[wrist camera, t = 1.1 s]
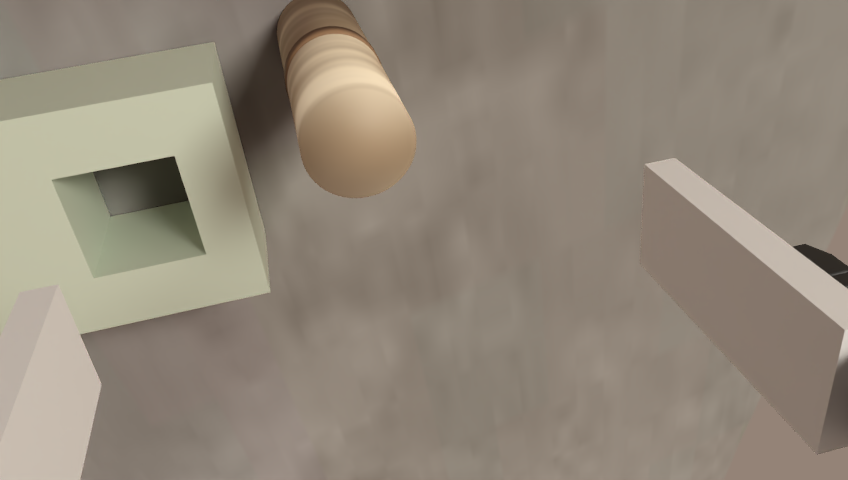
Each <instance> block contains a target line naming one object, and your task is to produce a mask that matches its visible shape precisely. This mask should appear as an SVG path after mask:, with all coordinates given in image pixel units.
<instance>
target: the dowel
mask: <svg viewBox="0 0 848 480" xmlns="http://www.w3.org/2000/svg"><path fill="white" fill-rule="evenodd" d="M277 39H278V45H279V49H280V54H281V59H282V64H283V69H284V79H285V85H286V90H287V94H288V97H289V99H290V104H291V109H292V114H293V119H294V124H295V129H296V134H297V138H298V143H299V148H300V153H301V158H302V161H303V165H304V167H305V169H306V171H307V172H308V174H309V176H310V177H311V178H312V179H313V180H314V182H315V183H317V184H318V185H319V186H320V187H322V188H323V189H325V190H326V191H328V192H330V193H332V194H335V195H338V196H342V197H347V198H363V197H369V196H373V195H376V194H379V193H381V192H383V191H385V190H387V189H389V188H390V187H392V186H393V185H394V184H396V183H397V182H398V181H399V180H400V179H401V178H402V177H403V176H404V174H405V173H406V172H407V170H408V169H409V167H410V165H411V163H412V161H413V158H414V155H415V150H416V132H415V128H414V125H413V122H412V120H411V118H410V116H409V114H408V112H407V111H406V109H405V107H404V105H403V103H402V102H401V100H400V98H399V96H398V94H397V93H396V91H395V89H394V87H393V85H392V84H391V82H390V80H389V78H388V77H387V75H386V73H385V71H384V69H383V68H382V65H381V62H380V60H379V58H378V56H377V54H376V53H375V51H374V49H373V47H372V46H371V45H370V43H369V42H368V41H367V39H366V37H365V35H364V34H363V32H362V30H361V28H360V26H359V25H358V23H357V21H356V19H355V17H354V16H353V14H352V12H351V11H350V9H349V8H348V7H347V6H346V5H345V4H344V3H343V2H342V1H341V0H293V1H291V2H290V3H289V4H288V5H287V6H286V8H285V9H284V10H283V12H282V14H281V16H280V18H279V21H278V25H277Z"/></svg>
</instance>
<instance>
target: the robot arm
mask: <svg viewBox="0 0 848 480" xmlns="http://www.w3.org/2000/svg"><path fill="white" fill-rule="evenodd" d="M640 265H641V266H642V267H643V268H644V269H645V270H646V271H647V272H648V273H649V274H650V275H651V276H652V277H653V279H654V280H655V281H656V282H657V283H658V284H659V285H660V286H661V287H662V288H663V289H664V290H665V291H666V293H667V294H668V295H669V296H670V297H671V298H672V299H673V300H674V301H675V302H676V303H677V304H678V306H679V307H680V308H681V309H682V310H683V311H684V312H685V313H686V314H687V315H688V316H689V317H690V318H691V320H692V321H693V322H694V323H695V324H696V325H697V326H698V327H699V328H700V329H701V330H702V331H703V333H704V334H705V335H706V336H707V337H708V338H709V339H710V340H711V341H712V342H713V343H714V344H715V345H716V347H717V348H718V349H719V350H720V351H721V352H722V353H723V354H724V355H725V356H726V357H727V358H728V359H729V361H730V362H731V363H732V364H733V365H734V366H735V367H736V368H737V369H738V370H739V371H740V372H741V374H742V375H743V376H744V377H745V378H746V379H747V380H748V381H749V382H750V383H751V384H752V385H753V386H754V388H755V389H756V390H757V391H758V392H759V393H760V394H761V395H762V396H763V397H764V398H765V399H766V400H767V402H768V403H769V404H770V405H771V406H772V407H773V408H774V409H775V410H776V411H777V412H778V413H779V415H780V416H781V417H782V418H783V419H784V420H785V421H786V422H787V423H788V424H789V425H790V426H791V427H792V428H793V430H794V431H795V432H796V433H797V434H798V435H799V436H800V437H801V438H802V439H803V440H804V441H805V443H806V444H807V445H808V446H809V447H810V448H811V449H812V450H813V451H814V452H815V453H816V454H817V455H818V454H821V453H825V452H829V451H832V450H836V449H839V448H843V447H847V446H848V266H847V265H845V264H844V263H843V262H841V261H840V260H838V259H837V258H836V257H834V256H833V255H832V254H829V253H827V252H824V251H822V250H819V249H816V248H814V247H811V246H809V245H806V244H803V245H798V246H794V247H792V246H791V245H789V244H788V243H787V242H785V241H784V240H783V239H781V238H780V237H779V236H777V235H776V234H775V233H773V232H772V231H771V230H769V229H768V228H767V227H765V226H764V225H763V224H761V223H760V222H759V221H758V220H756V219H755V218H754V217H752V216H751V215H750V214H748V213H747V212H746V211H744V210H743V209H742V208H740V207H739V206H738V205H736V204H735V203H734V202H732V201H731V200H730V199H728V198H727V197H726V196H724V195H723V194H722V193H721V192H719V191H718V190H717V189H715V188H714V187H713V186H711V185H710V184H709V183H707V182H706V181H705V180H703V179H702V178H701V177H699V176H698V175H697V174H695V173H694V172H693V171H691V170H690V169H689V168H688V167H686V166H685V165H684V164H682V163H681V162H680V161H678V160H677V159H676V158H672V159H667V160H662V161H658V162H653V163H648V164H644V185H643V206H642V227H641V248H640ZM101 385H102V384H101V382H100V380H99V377H98V375H97V373H96V370H95V368H94V366H93V363H92V361H91V359H90V357H89V354H88V352H87V350H86V347H85V345H84V343H83V340H82V338H81V336H80V333H79V331H78V329H77V326H76V324H75V322H74V319H73V317H72V315H71V313H70V310H69V308H68V306H67V303H66V301H65V299H64V296H63V294H62V292H61V289H60V287H59V285H58V284H57V285H52V286H47V287H42V288H37V289H32V290H28V291H23V292H20V293H19V295H18V297H17V299H16V302H15V304H14V306H13V309H12V311H11V313H10V315H9V318H8V320H7V322H6V324H5V327H4V329H3V331H2V333H1V336H0V480H80V478H81V474H82V469H83V465H84V460H85V456H86V452H87V447H88V443H89V438H90V434H91V429H92V425H93V420H94V416H95V412H96V407H97V403H98V398H99V394H100V389H101Z"/></svg>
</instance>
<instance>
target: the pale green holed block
mask: <svg viewBox="0 0 848 480" xmlns="http://www.w3.org/2000/svg"><path fill="white" fill-rule="evenodd" d="M171 156H175V159H176V162H177V165H178V168H179V172H180V175H181V178H182V181H183V184H184V187H185V190H186V193H187V196H188V199H189V201H185V202H180V203H175V204H170V205H165V206H160V207H155V208H150V209H145V210H140V211H135V212H130V213H125V214H120V215H116V216H111V217H110V214H109V212H108V209H107V207H106V204H105V201H104V199H103V196H102V194H101V191H100V189H99V186H98V184H97V181H96V179H95V176H94V174H93V172H94V171H99V170H104V169H109V168H115V167H120V166H125V165H130V164H135V163H140V162H145V161H151V160H156V159H161V158H166V157H171ZM57 284H58V285H59V287H60V289H61V292H62V294H63V296H64V299H65V301H66V303H67V306H68V308H69V310H70V313H71V315H72V317H73V319H74V322H75V324H76V326H77V329H78V331H79V333H80V334H84V333H89V332H93V331H98V330H102V329H107V328H111V327H116V326H120V325H125V324H129V323H134V322H138V321H143V320H148V319H152V318H157V317H161V316H166V315H170V314H175V313H179V312H184V311H188V310H193V309H197V308H202V307H206V306H211V305H215V304H220V303H224V302H229V301H233V300H238V299H242V298H247V297H251V296H256V295H260V294H265V293H269V292H270V281H269V269H268V258H267V246H266V235H265V229H264V226H263V222H262V218H261V215H260V211H259V207H258V203H257V200H256V196H255V192H254V188H253V185H252V181H251V177H250V174H249V170H248V166H247V162H246V159H245V155H244V151H243V147H242V144H241V140H240V136H239V132H238V129H237V125H236V121H235V118H234V114H233V110H232V106H231V103H230V99H229V95H228V91H227V88H226V84H225V80H224V77H223V73H222V69H221V65H220V62H219V58H218V54H217V50H216V47H215V43H214V42H211V43H205V44H199V45H194V46H188V47H182V48H177V49H171V50H165V51H160V52H154V53H148V54H143V55H137V56H131V57H126V58H120V59H114V60H109V61H103V62H97V63H92V64H86V65H80V66H75V67H69V68H64V69H58V70H52V71H47V72H41V73H35V74H30V75H24V76H18V77H13V78H7V79H1V80H0V336H1V333H2V331H3V329H4V327H5V324H6V322H7V320H8V318H9V315H10V313H11V311H12V309H13V306H14V304H15V302H16V299H17V297H18V295H19V293H20V292H23V291H28V290H32V289H37V288H42V287H47V286H52V285H57Z"/></svg>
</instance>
